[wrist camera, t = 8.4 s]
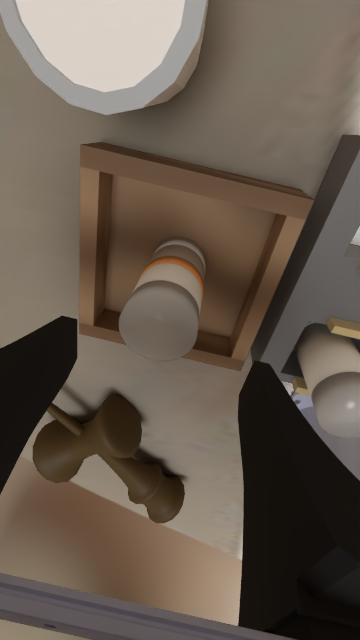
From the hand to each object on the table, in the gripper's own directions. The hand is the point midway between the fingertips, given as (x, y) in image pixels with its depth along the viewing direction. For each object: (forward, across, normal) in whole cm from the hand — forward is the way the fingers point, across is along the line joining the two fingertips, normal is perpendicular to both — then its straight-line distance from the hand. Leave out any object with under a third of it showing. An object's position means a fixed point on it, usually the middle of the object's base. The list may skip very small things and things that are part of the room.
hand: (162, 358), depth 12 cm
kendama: (+11, +3, +22) cm, 24 cm away
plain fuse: (+10, -11, +3) cm, 15 cm away
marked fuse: (+10, 0, 0) cm, 10 cm away
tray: (+10, 0, 0) cm, 10 cm away
